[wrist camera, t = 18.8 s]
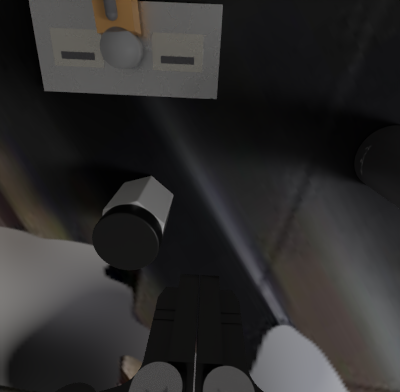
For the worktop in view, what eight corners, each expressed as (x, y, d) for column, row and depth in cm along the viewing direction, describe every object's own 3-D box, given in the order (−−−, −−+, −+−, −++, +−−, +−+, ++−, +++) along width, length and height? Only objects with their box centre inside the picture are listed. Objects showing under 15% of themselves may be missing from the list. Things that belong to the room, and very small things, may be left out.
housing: (221, 9, 33) (222, 4, 31) (216, 97, 37) (216, 99, 35) (40, 1, 33) (26, -5, 31) (54, 89, 37) (43, 90, 35)
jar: (108, 199, 44) (74, 241, 33) (141, 164, 41) (116, 197, 30) (151, 233, 46) (133, 283, 35) (184, 203, 44) (175, 246, 33)
